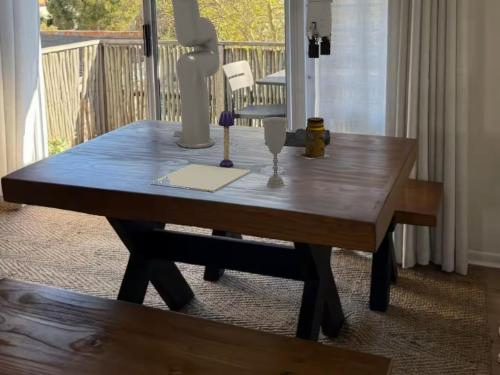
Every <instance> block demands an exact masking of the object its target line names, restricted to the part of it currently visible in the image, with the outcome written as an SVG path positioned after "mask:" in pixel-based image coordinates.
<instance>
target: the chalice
mask: <svg viewBox="0 0 500 375" xmlns="http://www.w3.org/2000/svg"><path fill="white" fill-rule="evenodd" d="M261 120H262V123H263V125H264V127H263V128H264V130H263V131H264V134H263V136H264V141H265V142H266V144H267V145H266V144H265V145H266V146H267V148H268V150H269V152H270V154H272V155H273V159H272V163H273V166H272V167H271V168H272V170H273V174H272V175H270V177H269V178H268V181H267V183H266V185H265V186H266V187H268V188H272V189H273V188H277V189H278V188H283V187H284V186H286V184H285V182H284V180H283V178H282V176H280V175H279V174H278V169H279V167H278V162H279V160H278V154H280V153H281V151H282V149H283V147H285V146H284V143H285V140H286V132H287V123H288V121H289V119H288V118H287V117H282V116H280V117H279V116H275V117H274V116H271V117H264V118H262V119H261Z"/></svg>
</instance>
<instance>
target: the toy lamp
mask: <svg viewBox="0 0 500 375" xmlns="http://www.w3.org/2000/svg"><path fill="white" fill-rule="evenodd" d="M217 125H219V127H223V159H222V160H221V161H220V162H219V167H223V168H233V167H234V162H233V160H231V159H230V156H229V155H230V127H233V126H234V125H235V121H234V118H233V114H232V112H231V111H229V110H223V111H221V112H220V116H219V119H218V124H217Z"/></svg>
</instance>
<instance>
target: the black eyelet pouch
mask: <svg viewBox="0 0 500 375" xmlns="http://www.w3.org/2000/svg"><path fill="white" fill-rule="evenodd" d="M330 142H331V132H330V130H329V129H325V148H326V146H327V145H329V144H330ZM264 144H265V146H267V144H266V141H265V142H264ZM283 147H290V148H291V147H292V148H306V128H305V129H304V128H297V129H296V130H295V132H293V131H291V132H290V131H286V140H285V143H284V146H283Z"/></svg>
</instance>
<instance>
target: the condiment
mask: <svg viewBox="0 0 500 375" xmlns="http://www.w3.org/2000/svg"><path fill="white" fill-rule="evenodd" d="M324 121H325V119H324V118H322V117H318V116H317V117H309V118H308V117H307V119H306V122H307V123H306V126H305V129H306V147H305V153H297V154H296V156H297V157H298V158H303V159H306V160H314V159H320V158H326V157H330V156H331V155H330V154H329V155H328V154H325V152H326V151H325V149H326V147H325V130H326V127H325V124H324V123H325V122H324Z"/></svg>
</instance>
